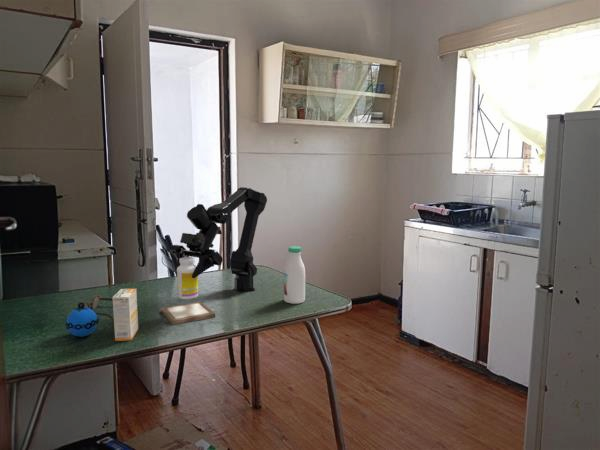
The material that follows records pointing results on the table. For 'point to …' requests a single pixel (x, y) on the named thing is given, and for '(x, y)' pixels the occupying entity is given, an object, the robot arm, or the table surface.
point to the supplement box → (125, 314)
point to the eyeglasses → (95, 304)
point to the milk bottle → (294, 277)
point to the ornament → (82, 321)
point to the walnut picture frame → (187, 313)
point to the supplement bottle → (187, 279)
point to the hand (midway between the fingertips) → (184, 276)
